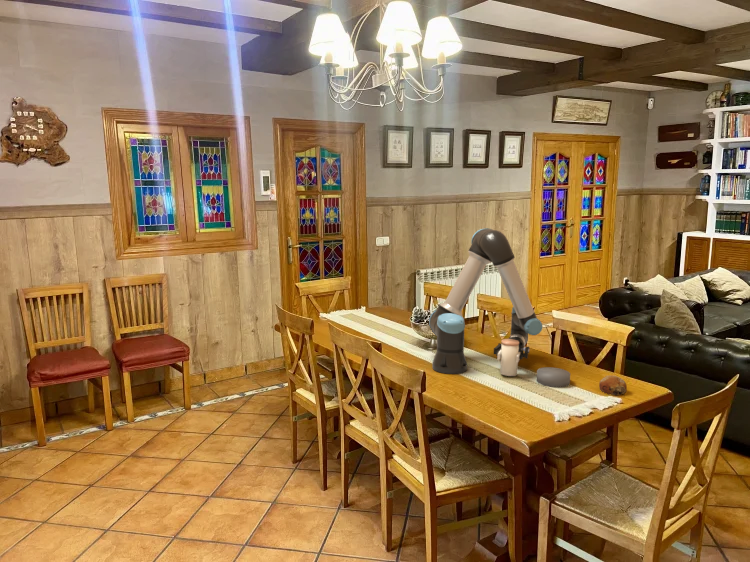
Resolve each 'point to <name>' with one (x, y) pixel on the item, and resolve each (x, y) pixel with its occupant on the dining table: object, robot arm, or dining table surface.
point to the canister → (509, 357)
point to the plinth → (553, 377)
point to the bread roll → (613, 385)
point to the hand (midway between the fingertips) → (507, 358)
